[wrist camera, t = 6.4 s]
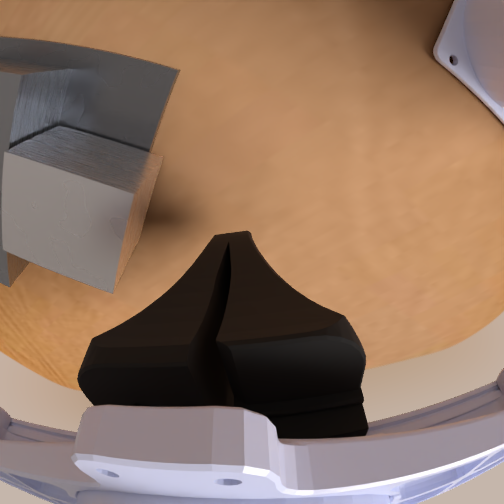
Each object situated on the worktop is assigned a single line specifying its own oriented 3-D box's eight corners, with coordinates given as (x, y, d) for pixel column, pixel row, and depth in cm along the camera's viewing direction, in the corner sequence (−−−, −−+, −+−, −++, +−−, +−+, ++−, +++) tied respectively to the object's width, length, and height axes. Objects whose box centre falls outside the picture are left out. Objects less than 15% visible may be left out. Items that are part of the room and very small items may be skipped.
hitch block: (179, 70, 11) (153, 70, 7) (118, 281, 16) (94, 337, 13) (-24, 35, 8) (-79, 42, 4) (-40, 216, 13) (-79, 251, 10)
